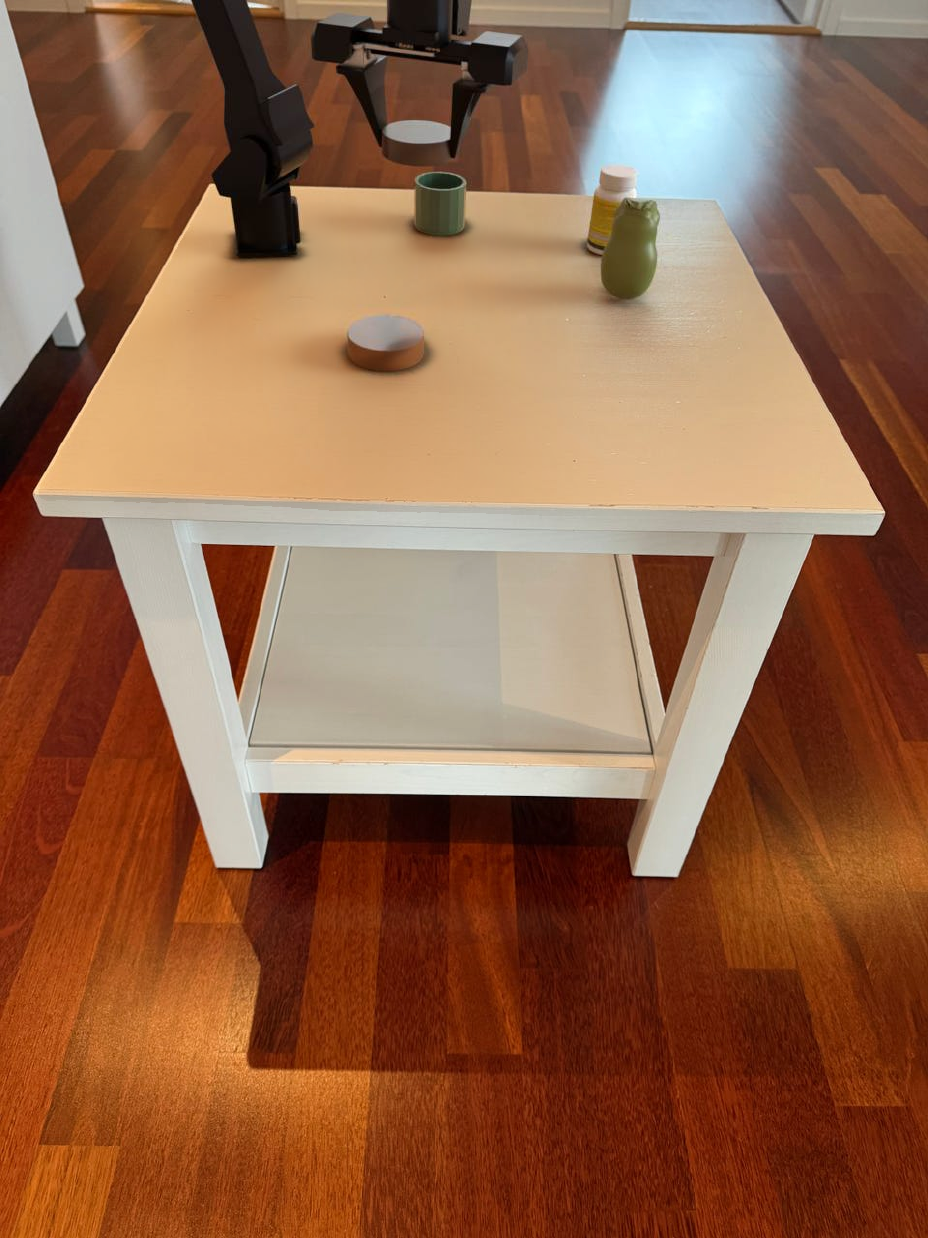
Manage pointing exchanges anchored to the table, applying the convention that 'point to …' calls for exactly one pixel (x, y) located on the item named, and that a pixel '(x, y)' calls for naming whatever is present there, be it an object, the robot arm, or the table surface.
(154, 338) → the table surface
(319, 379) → the table surface
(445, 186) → the plastic cup
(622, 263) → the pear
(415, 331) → the teak chip
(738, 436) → the table surface
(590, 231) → the supplement bottle
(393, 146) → the walnut chip
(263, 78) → the robot arm
